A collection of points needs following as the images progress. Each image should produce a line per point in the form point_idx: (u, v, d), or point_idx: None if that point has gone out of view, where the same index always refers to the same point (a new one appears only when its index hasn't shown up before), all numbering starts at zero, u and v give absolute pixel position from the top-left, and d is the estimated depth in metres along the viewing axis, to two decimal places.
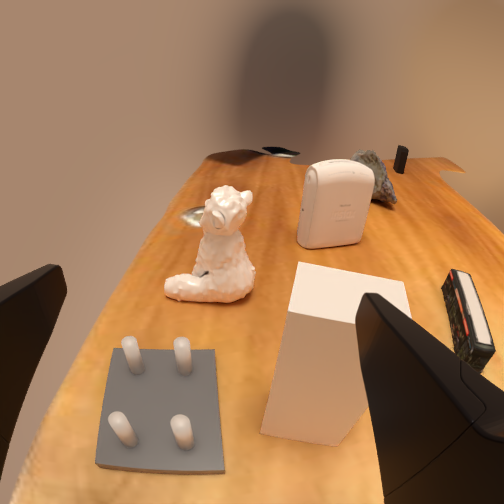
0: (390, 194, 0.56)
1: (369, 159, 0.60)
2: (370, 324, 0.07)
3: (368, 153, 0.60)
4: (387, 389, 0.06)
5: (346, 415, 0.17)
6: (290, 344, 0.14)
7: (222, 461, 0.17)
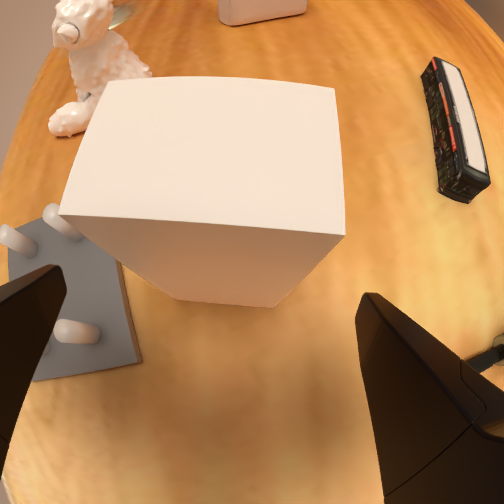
0: None
1: None
2: (370, 324, 0.07)
3: None
4: (387, 389, 0.06)
5: (265, 294, 0.13)
6: (109, 245, 0.08)
7: (133, 351, 0.16)
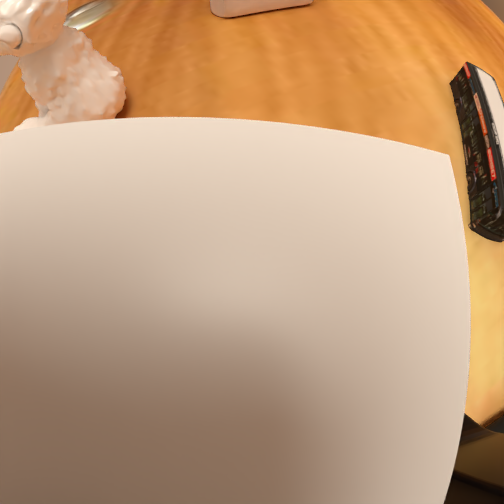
0: None
1: None
2: None
3: None
4: None
5: None
6: None
7: None
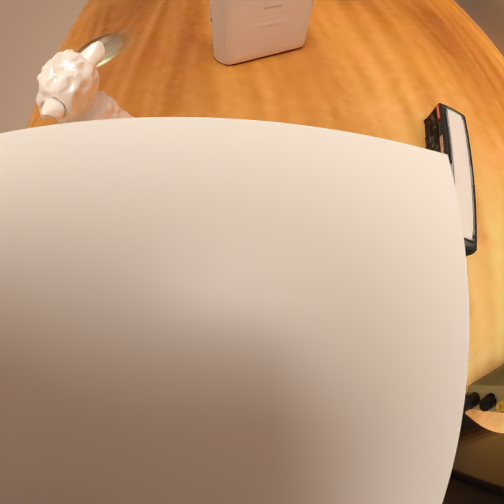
0: None
1: None
2: None
3: None
4: None
5: None
6: None
7: None
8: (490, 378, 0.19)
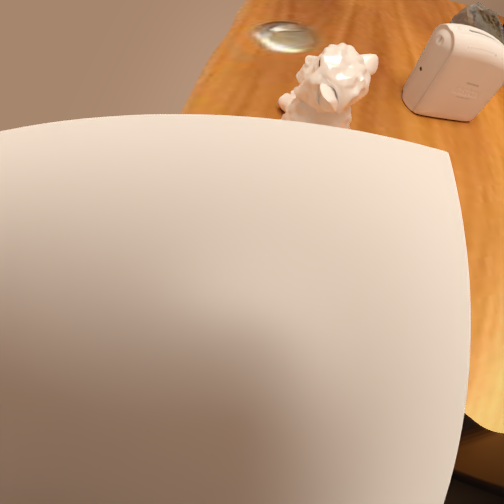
0: None
1: (489, 19, 0.26)
2: None
3: (489, 12, 0.25)
4: None
5: None
6: None
7: None
8: None
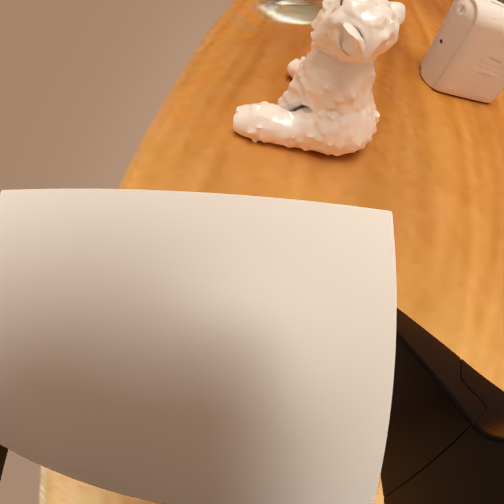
0: None
1: None
2: None
3: None
4: None
5: None
6: None
7: None
8: None
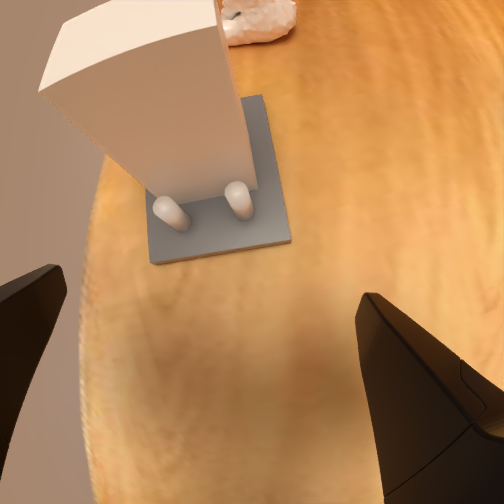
0: None
1: None
2: (370, 324, 0.07)
3: None
4: (387, 389, 0.06)
5: (230, 155, 0.15)
6: (79, 117, 0.09)
7: (287, 229, 0.19)
8: None
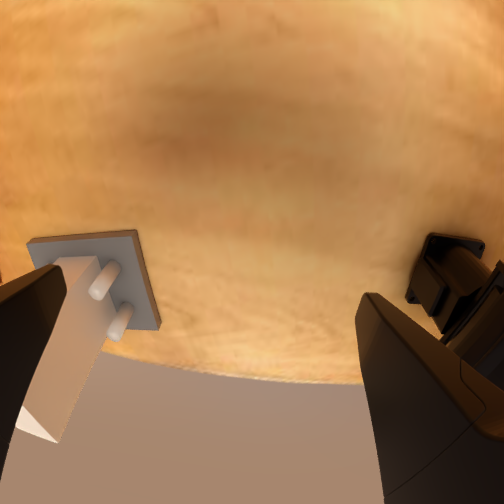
0: None
1: None
2: (370, 324, 0.07)
3: None
4: (387, 389, 0.06)
5: (70, 305, 0.18)
6: (65, 414, 0.15)
7: (123, 237, 0.21)
8: None
